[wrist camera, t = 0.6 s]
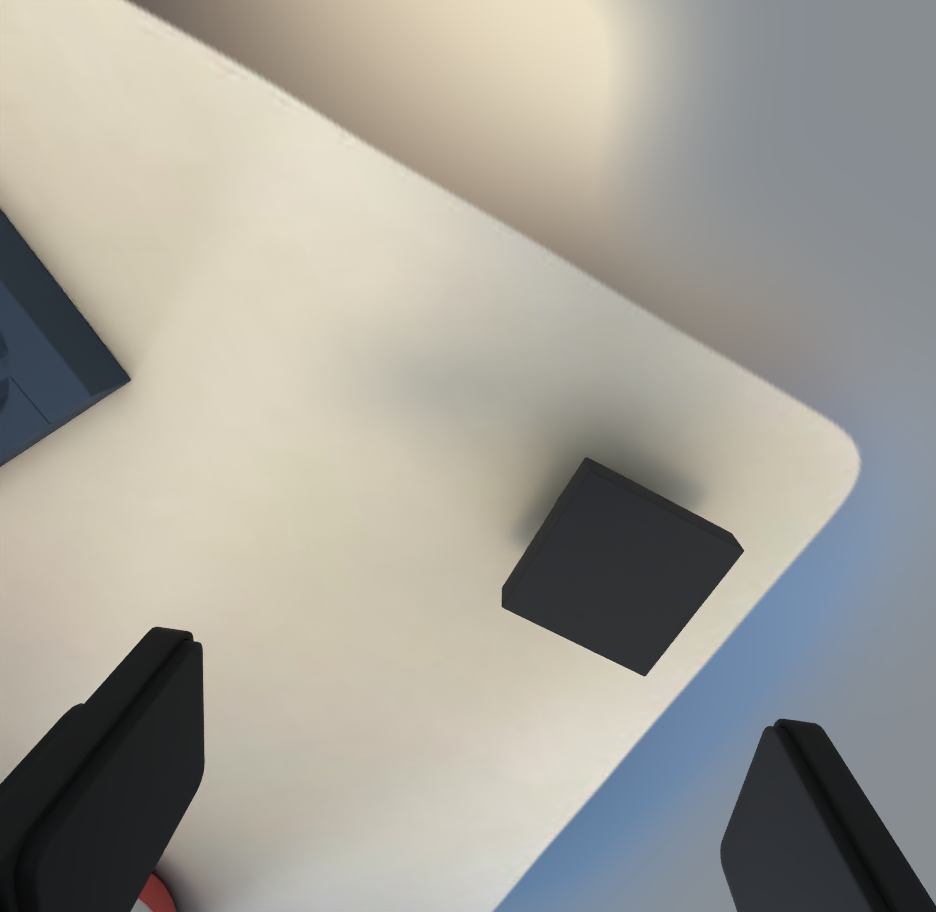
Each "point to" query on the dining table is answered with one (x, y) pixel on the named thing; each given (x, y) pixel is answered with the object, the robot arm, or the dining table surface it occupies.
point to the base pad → (43, 352)
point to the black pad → (618, 568)
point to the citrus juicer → (154, 898)
